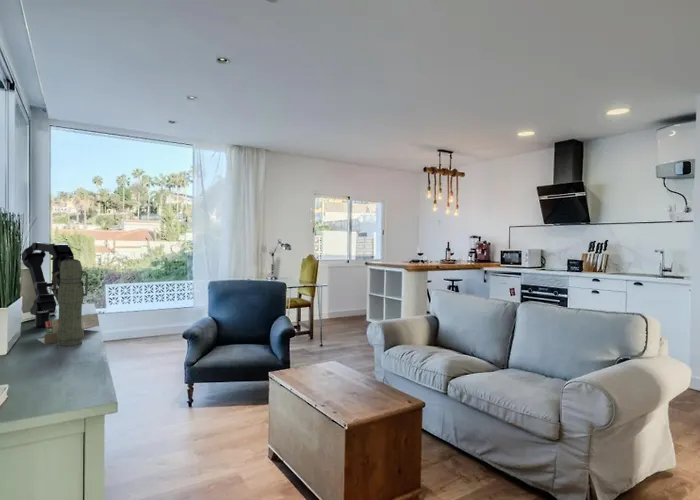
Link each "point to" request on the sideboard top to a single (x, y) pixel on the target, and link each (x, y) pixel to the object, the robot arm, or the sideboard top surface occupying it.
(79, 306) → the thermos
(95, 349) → the sideboard top surface
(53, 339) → the dock pad
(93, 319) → the stack of blocks
